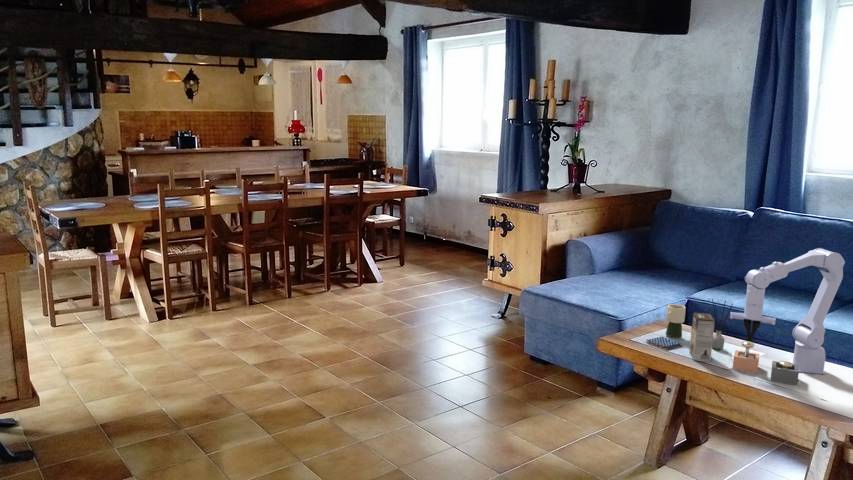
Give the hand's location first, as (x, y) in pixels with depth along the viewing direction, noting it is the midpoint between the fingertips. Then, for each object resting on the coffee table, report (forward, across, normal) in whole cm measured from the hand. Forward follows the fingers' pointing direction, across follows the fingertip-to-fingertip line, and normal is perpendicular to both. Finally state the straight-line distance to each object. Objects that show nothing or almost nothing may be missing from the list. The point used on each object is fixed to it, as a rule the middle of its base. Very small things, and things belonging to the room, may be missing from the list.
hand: (749, 340), depth 240 cm
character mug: (+11, +28, -25) cm, 39 cm away
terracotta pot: (+10, 0, 0) cm, 10 cm away
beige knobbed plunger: (+10, -12, +5) cm, 16 cm away
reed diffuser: (+11, +12, -18) cm, 24 cm away
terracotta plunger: (+7, 0, 0) cm, 7 cm away
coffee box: (+11, +16, -4) cm, 20 cm away
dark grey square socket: (+10, -12, +5) cm, 17 cm away
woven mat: (+11, +30, -12) cm, 34 cm away
